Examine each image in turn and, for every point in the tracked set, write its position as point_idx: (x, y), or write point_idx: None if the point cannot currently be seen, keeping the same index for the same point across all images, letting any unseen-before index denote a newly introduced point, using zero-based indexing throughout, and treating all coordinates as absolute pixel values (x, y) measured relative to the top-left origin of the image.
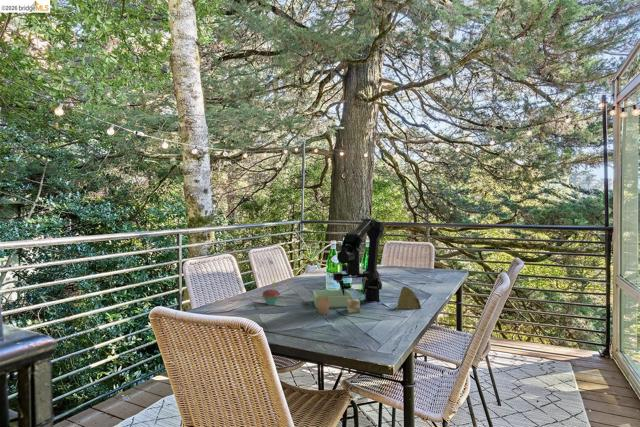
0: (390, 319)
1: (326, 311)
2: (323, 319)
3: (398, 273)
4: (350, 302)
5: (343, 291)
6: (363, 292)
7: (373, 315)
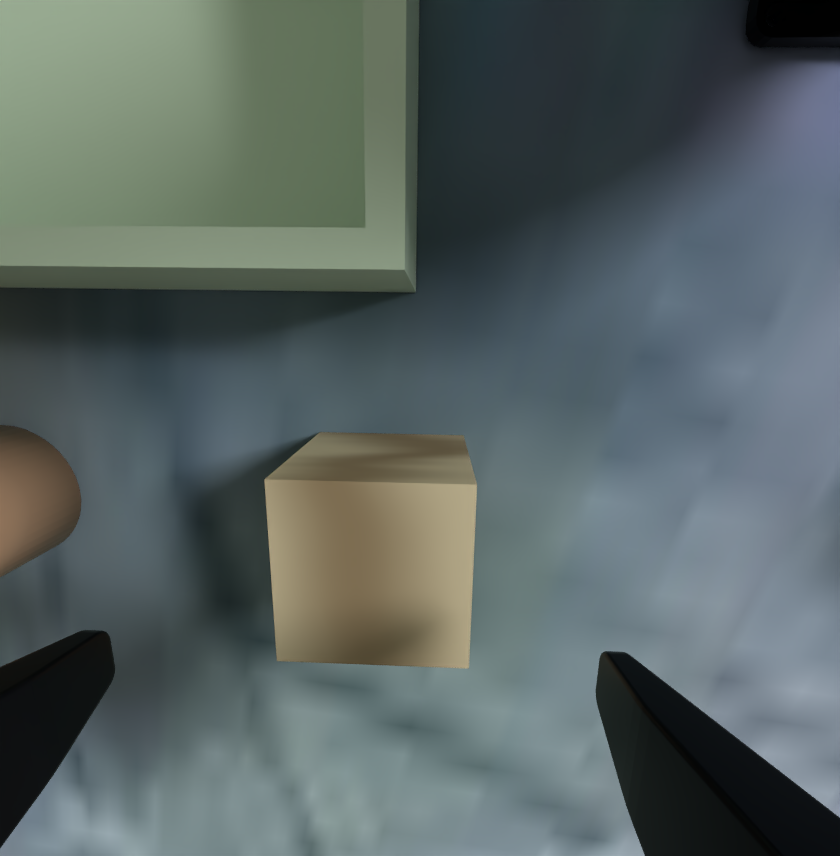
0: None
1: (34, 556)
2: None
3: None
4: (304, 657)
5: (10, 804)
6: (619, 757)
7: (580, 698)
